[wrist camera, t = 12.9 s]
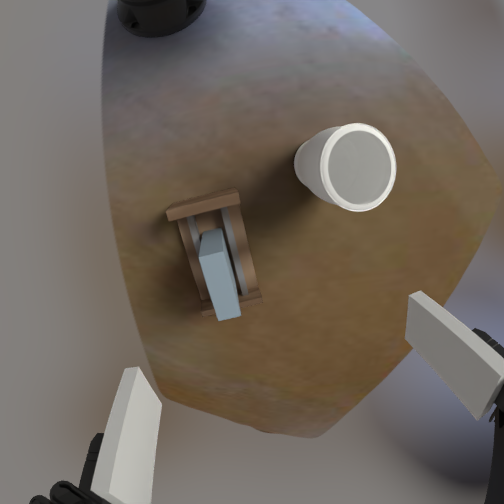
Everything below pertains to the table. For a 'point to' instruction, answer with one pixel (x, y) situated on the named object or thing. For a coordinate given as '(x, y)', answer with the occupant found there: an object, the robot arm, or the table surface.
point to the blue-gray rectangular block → (219, 274)
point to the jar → (348, 166)
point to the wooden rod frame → (230, 219)
